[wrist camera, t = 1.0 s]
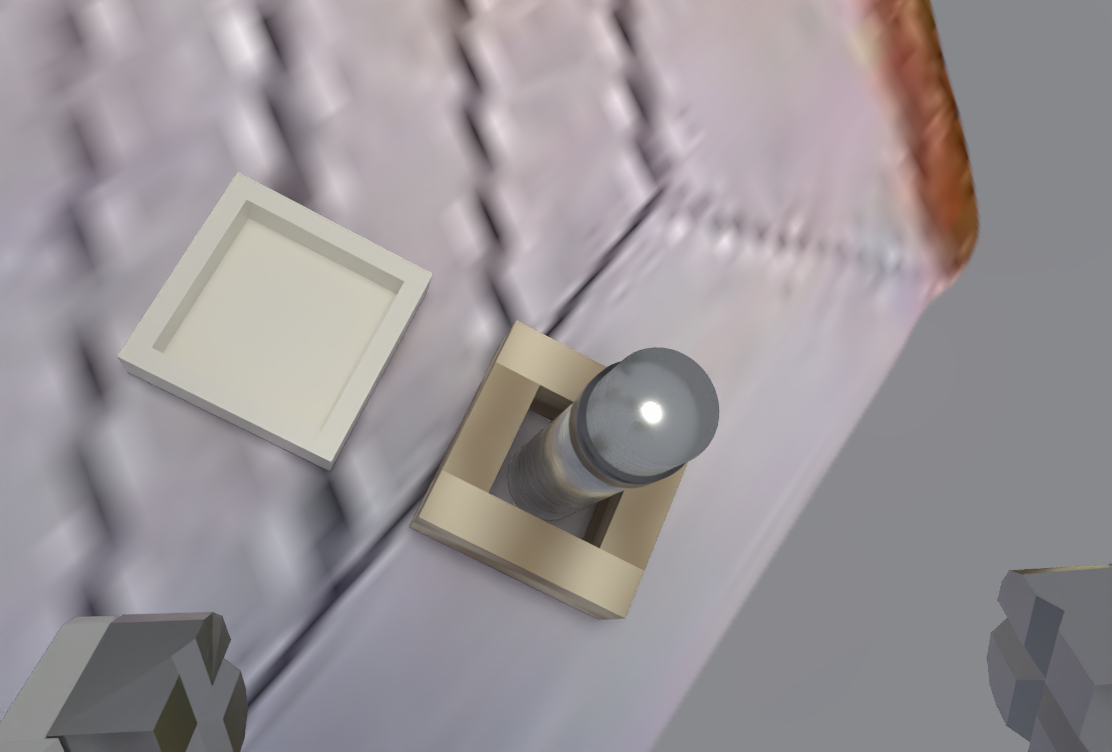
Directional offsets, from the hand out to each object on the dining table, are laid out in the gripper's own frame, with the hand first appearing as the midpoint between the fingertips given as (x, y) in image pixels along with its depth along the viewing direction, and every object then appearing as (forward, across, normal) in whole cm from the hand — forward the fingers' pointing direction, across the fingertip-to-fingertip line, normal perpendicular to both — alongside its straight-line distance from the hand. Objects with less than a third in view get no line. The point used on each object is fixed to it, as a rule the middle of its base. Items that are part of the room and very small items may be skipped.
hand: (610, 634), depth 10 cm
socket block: (+31, +2, +20) cm, 37 cm away
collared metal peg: (+31, +2, +20) cm, 37 cm away
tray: (+33, +14, +12) cm, 38 cm away
